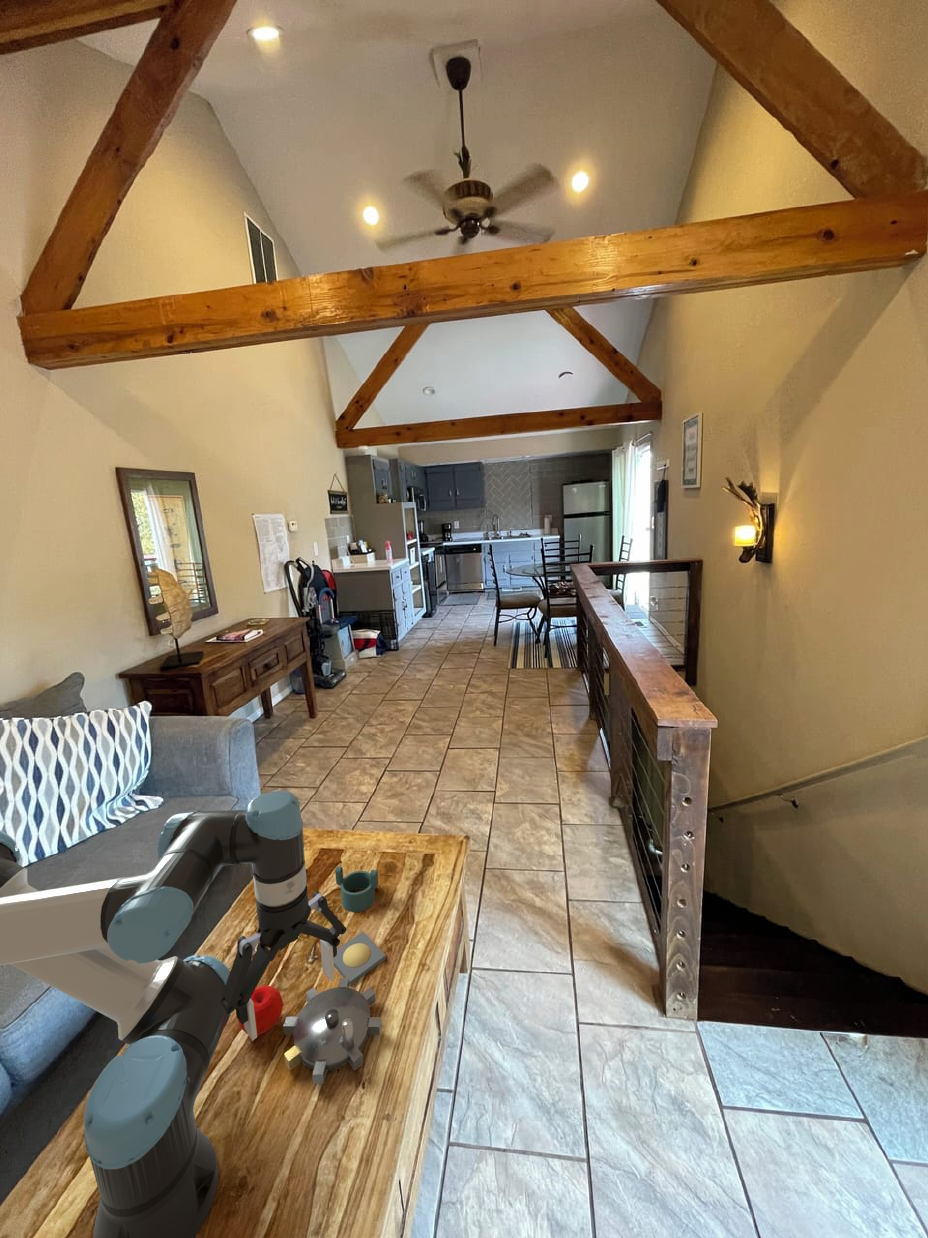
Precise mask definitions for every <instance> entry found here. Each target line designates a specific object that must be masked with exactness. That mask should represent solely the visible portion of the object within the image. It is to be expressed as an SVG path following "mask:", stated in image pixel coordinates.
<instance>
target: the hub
mask: <svg viewBox="0 0 928 1238" xmlns="http://www.w3.org/2000/svg"><path fill="white" fill-rule="evenodd" d="M338 1021H339V1016H338V1011H337V1010H336V1009H331V1010H329V1011H328V1012H327V1013H326V1015H325V1022H326V1025H327V1026H328V1027H333V1026H335V1025H336V1024H337V1023H338Z"/></svg>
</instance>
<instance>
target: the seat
mask: <svg viewBox="0 0 928 1238" xmlns="http://www.w3.org/2000/svg"><path fill="white" fill-rule="evenodd" d="M386 958H387V955H386V954H385V953H384V952H383V951H382V949H380V947H378V946H377V944H375V942H374V941H373V940H372V939H371V938H370V937H369V936H368V935H367V934H366V933H365V931H362V932H360V933H358V934H357V935H355V936H354V937H353V938H351V939H350V940H348V941H347V942H346V943H344V944H342V945H341V946H339V947H337V955H336V956H335V957H334V958H333V960H334V969H336V970H337V971H338V973H339V974H340V975H341V976H342V978H349V985H350V986H353V984H355V983H356V982H357V981H358V980H360V979H362V977H364V976H365V975H367V974H368V973H369V972H370V971H372V970H374V968H376V967H377V966H379V965H380V964H381V963H382V962H384V961H385V960H386Z"/></svg>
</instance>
